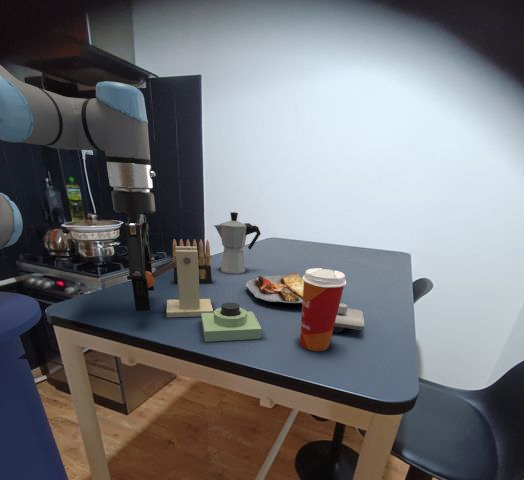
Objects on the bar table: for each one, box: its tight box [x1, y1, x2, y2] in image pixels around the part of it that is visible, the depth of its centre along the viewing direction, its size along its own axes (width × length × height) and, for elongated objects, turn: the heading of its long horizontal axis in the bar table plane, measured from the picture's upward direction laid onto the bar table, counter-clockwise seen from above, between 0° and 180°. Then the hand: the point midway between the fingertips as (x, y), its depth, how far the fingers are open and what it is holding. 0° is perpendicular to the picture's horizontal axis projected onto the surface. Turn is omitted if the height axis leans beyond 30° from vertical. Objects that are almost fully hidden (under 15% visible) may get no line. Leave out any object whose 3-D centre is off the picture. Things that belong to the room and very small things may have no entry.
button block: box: [200, 307, 263, 343], centre depth 64 cm, size 11×9×4 cm
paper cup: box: [299, 267, 347, 352], centre depth 58 cm, size 8×8×14 cm
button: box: [220, 302, 241, 317], centre depth 63 cm, size 4×4×2 cm
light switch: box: [333, 302, 366, 333], centre depth 69 cm, size 10×10×5 cm
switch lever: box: [140, 248, 190, 288], centre depth 68 cm, size 13×4×4 cm, turn 103°
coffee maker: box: [213, 211, 262, 275], centre depth 102 cm, size 15×9×18 cm, turn 95°
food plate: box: [244, 272, 304, 305], centre depth 86 cm, size 25×23×4 cm
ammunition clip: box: [172, 238, 213, 285], centre depth 89 cm, size 11×2×12 cm, turn 104°
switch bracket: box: [166, 245, 214, 318], centre depth 70 cm, size 10×8×14 cm
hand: (145, 299), depth 70 cm, fingers open, 12 cm apart
